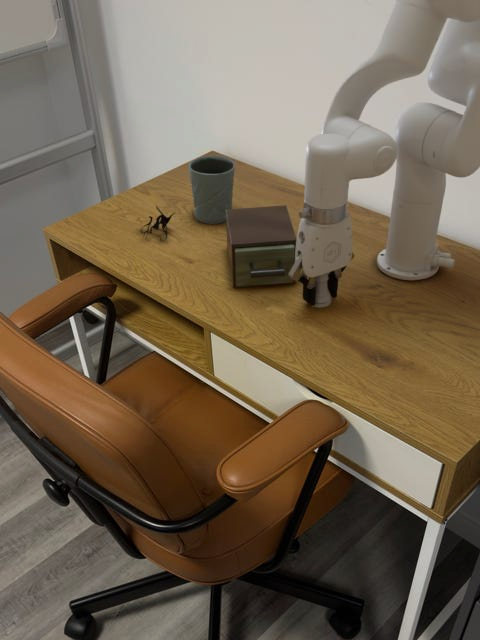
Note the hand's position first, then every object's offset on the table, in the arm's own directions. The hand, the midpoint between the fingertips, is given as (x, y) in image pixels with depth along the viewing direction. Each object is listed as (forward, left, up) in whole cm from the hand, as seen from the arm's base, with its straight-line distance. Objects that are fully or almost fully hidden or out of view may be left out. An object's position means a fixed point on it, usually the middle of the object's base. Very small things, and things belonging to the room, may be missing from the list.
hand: (319, 297), depth 135 cm
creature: (+43, -12, -1) cm, 45 cm away
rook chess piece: (0, 0, -1) cm, 1 cm away
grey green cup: (+35, -25, -1) cm, 43 cm away
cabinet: (+16, -8, -1) cm, 18 cm away
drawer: (+14, -5, 0) cm, 15 cm away
